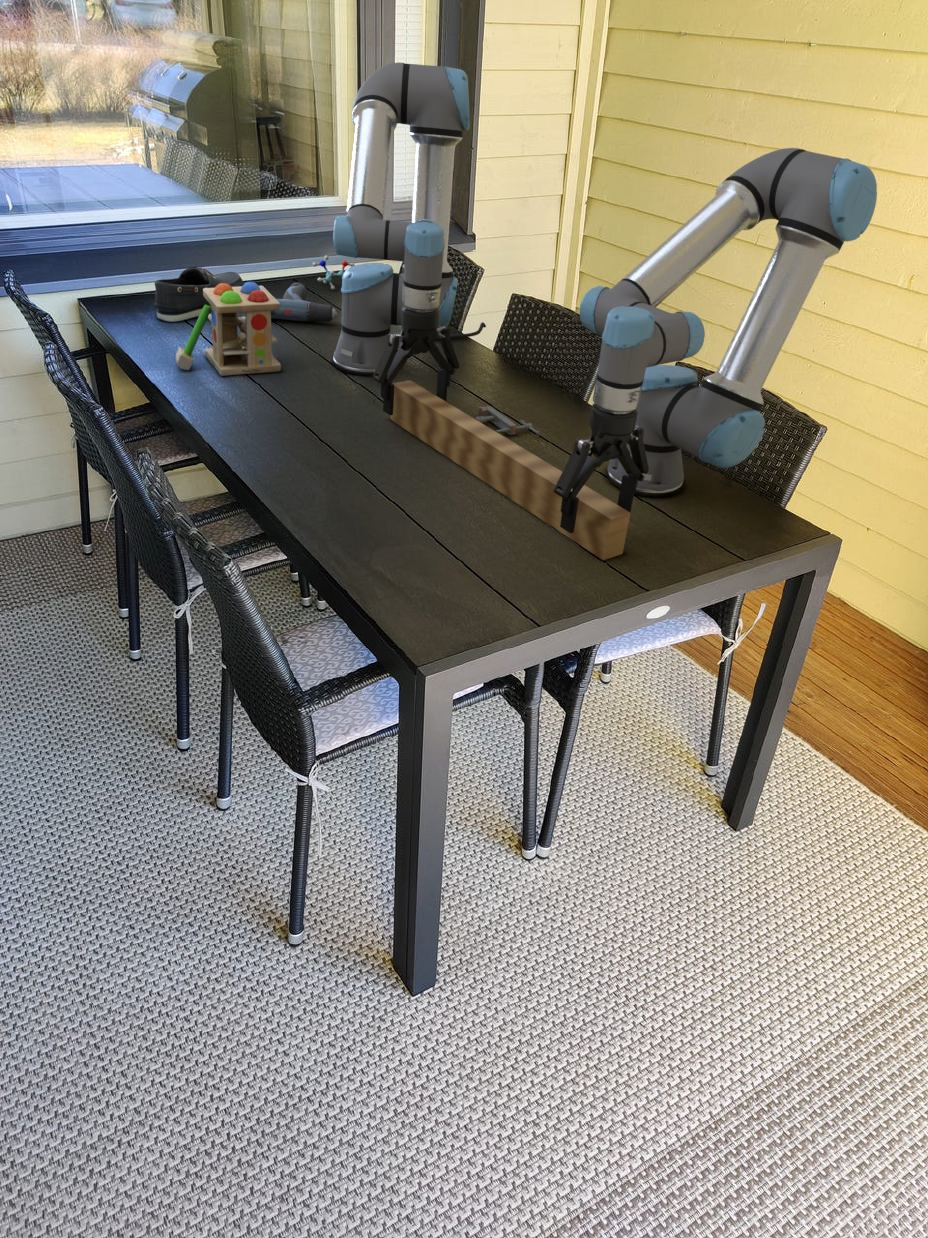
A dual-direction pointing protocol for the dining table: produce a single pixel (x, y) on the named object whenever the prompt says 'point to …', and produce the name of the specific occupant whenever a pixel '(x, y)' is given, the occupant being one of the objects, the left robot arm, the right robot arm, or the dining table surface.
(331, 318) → the power drill
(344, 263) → the molecular model
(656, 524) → the dining table surface
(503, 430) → the clamp
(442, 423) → the beam
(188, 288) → the boat shoe
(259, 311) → the pounding bench toy
